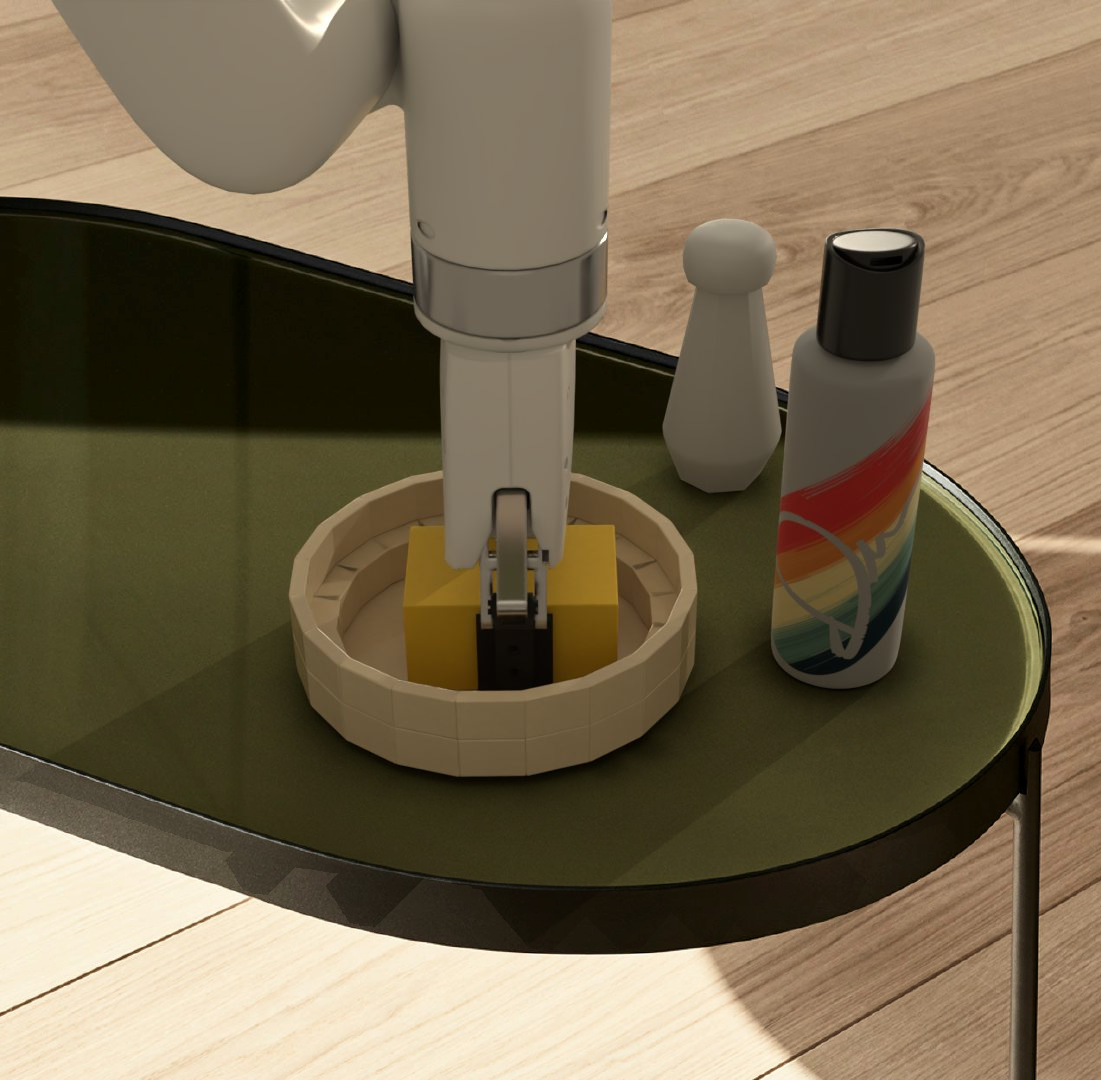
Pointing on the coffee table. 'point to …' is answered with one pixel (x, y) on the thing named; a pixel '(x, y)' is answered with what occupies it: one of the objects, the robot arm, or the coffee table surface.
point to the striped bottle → (853, 463)
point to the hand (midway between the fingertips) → (516, 640)
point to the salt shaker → (725, 361)
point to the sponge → (454, 595)
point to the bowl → (471, 715)
